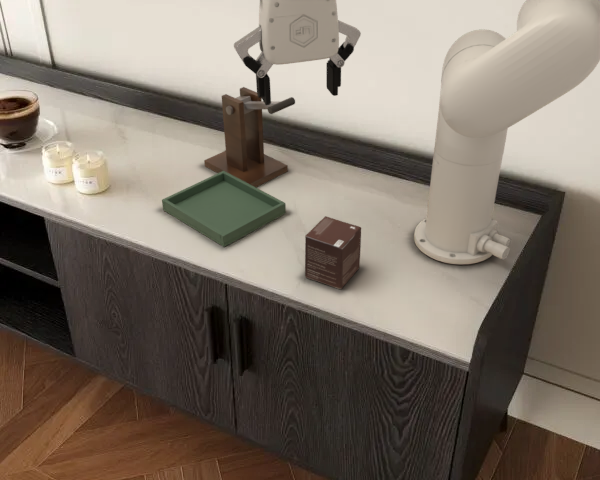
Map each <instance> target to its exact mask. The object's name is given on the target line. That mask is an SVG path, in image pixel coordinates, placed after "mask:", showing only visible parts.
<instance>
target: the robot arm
mask: <svg viewBox="0 0 600 480" xmlns="http://www.w3.org/2000/svg"><path fill="white" fill-rule="evenodd" d="M258 7H259V9H258V11H259V12H258V26H257V27H256V28H255V29H253V30H252V31H250V32H249V33H247V34H245V35H244V36H243V37H241V38H240V39H239V40H237V41H235V42H234V43H233V48H234V50H235V51H236V54H237V55H238V56H239V58H240V60H241V61H242V63H243V64H244V66H245V67H246V68H247V69H249V70H250V71H251V72H252V73H254V74H255V81H256V82H255V83H256V92H257V95H258V97H259V98H262V101H264V103H265V105H270V104H271V101H272V95H271V93H272V92H271V78H270V75H269V74H268V72H269V71H270V69H272V67H273V66H274V65H275V66H277V65H280V66H281V65H289V64H296V63H305V62H312V61H320V60H321V61H322V60H325V59H329V60H327V62H326V89H327V90H328V92H329V93H330V94H331V95H332V96H333V97H334V96H336V97H337V96H339V88H340V87H341V86H342V68H343V67H344V66H345V63H346V61H347V60H348V59H349V58H350V56H351V55H352V54H353V53H354V50H355V47H356V45H357V43H358V41H359V39H360V37H361V35H362V32H361V31H360V30H359V29H358V27H355V26H353V25H350V24H348V23H347V22H344V21H341V20H339V15H338V5H337V0H259V6H258ZM340 34H342V35H345V36H346V37H345V40H344V41H343V43H342V44H341V45H340ZM257 44H258V46H259V50H260V51H261V52H260V54H259V55H258V56H257V57H256V59H255V58H254V57H252V56H251V55H250V54H249V49H250V48H252V47H254V46H255V45H257ZM599 63H600V0H525V1H524V3H522V5H521V7H520V9H519V11H518V14H517V20H516V31H515V32H514V33H512V34H511V35H509V36H508V37H505V36H503V35H502V34H500V33H499V32H497V31H494V30H491V29H484V28H483V29H482V28H481V29H475V30H474V29H473V30H471V31H468V32H466V33H464V34H463V35H461V36H460V37H458V38H457V39H456V40H455V41H454V42H453V44H452V45H451V46H450V48H449V49H448V51H447V52H446V54H445V57H444V59H443V63H442V68H441V80H440V84H441V85H440V92H439V95H440V96H439V103H438V111H437V112H438V113H437V114H438V115H437V122H436V132H435V141H434V148H433V157H432V165H431V174H430V184H429V191H428V200H427V201H428V203H427V209H426V218H424V219H422V220H421V221H420V222H419V223H418V224H417V225H416V227H415V229H414V235H413V241H414V243H415V245H416V247H417V248H418V250H419V251H420V252H422V253H423V254H424V255H425V256H427V257H429V258H431V259H434V260H436V261H438V262H442V263H445V264H451V265H472V264H477V263H481V262H483V261H485V260H488V259H489V258H490V257H492V256H494V257H496V258H498V259H500V260H502V261H504V260H505V259H507V257H508V255H509V254H510V247H509V246H510V245H511V242H512V239H511V238H509V237H507V236H504V235H501V234H499V232H498V231H497V229H498V224H499V223H498V222H499V221H498V220H496V219H493V212H494V207H495V201H496V196H497V189H498V184H499V179H500V173H501V168H502V161H503V156H504V153H505V147H506V140H507V134H508V129H509V128H510V127H513V126H514V125H515V124H518V123H519V122H521V121H522V120H524V119H526V118H527V117H529V116H530V115H533V114H534V113H536V112H537V111H539V110H541V109H542V108H544V107H546V106H547V105H550V104H551V103H552V102H554V101H556V100H557V99H560V98H561V97H562V96H564V95H565V94H567V93H569V92H570V91H572V90H574V89H575V88H576V87H578V86H579V85H581V84H582V82H584V81H585V80H586V79H587V78H588V77H589V76H590V75H591V74H592V72H594V70H595V69H596V67H597V66H598V64H599Z"/></svg>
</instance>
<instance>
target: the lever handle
mask: <svg viewBox="0 0 600 480" xmlns="http://www.w3.org/2000/svg"><path fill="white" fill-rule="evenodd" d="M235 98H236V99H238V100H241V101H243V103H244V114H246V113H248V112H251V111H253V110H254V109H262V110H267V113H268V114H269V115H273V114H275V113H278V112H280V111H282V110H284V109H286V108H289V107H291V106H294V105H295V104H296V99H295V98H294V97H293V96H290V97H289V98H286V99H284V100H281V101H279V100H278V101H275V100H274V101H272V100H271V104H270V105H265V103H264V101H263V100H262V101H251V97H250V96H240V95H239V96H237V97H235Z"/></svg>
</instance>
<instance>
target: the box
mask: <svg viewBox="0 0 600 480" xmlns="http://www.w3.org/2000/svg"><path fill="white" fill-rule="evenodd" d="M304 239H305V243H304V276H305V278H306V279H309V280H311V281H315V282H318V283H321V284H324V285H327V286H329V287H331V288H332V287H333V288H335V289H338V290H342V289H343V287H344V286H345V285H346V284H347V283H348V282H349V281H350V280H351V278H352V277H353V276H354V275H355V274H356V273H357V271H358V270H359V269H360V264H361V247H362V245H361V244H362V227H361V226H359V225H355V224H352V223H350V222H349V223H348V222H346V221H343V220H339V219H337V218H333V217H329V216H324V217H323V218H322V219H321V220H319V222H318V223H317V224H316V225H314V226H313V228H311V230H309V231H308V232H307V234H305V236H304Z"/></svg>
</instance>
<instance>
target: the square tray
mask: <svg viewBox="0 0 600 480" xmlns="http://www.w3.org/2000/svg"><path fill="white" fill-rule="evenodd" d="M161 203H162V211H164V212H166V213H167V214H169V215H171V216H172V217H174V218H175V219H177V220H178V221H180V222H181V223H183V224H186V225H187V226H189V227H190V228H192V229H194V231H197V232H199V233H200V234H202V235H204V236H205V237H206V238H208V239H210V240H212V241H213V242H215V243H217V244H218V245H219V246H221V247H223V248H225V247H227V246H229V245H231V244H233V243H235V242H236V241H238V240H240V239H242V238H243V237H245V236H247V235H249V234H251V233H253V232H254V231H256V230H258V229H260V228H262V227H264V226H265V225H267V224H269V223H271V222H273V221H274V220H277V219H278V218H280V217H282V216H284V215H286V214H287V211H286V202H285V201H282V200H281V199H279V198H277V197H275V196H274V195H271V194H270V193H268V192H266V191H263V190H261V189H260V188H258V187H254V186H252V185H250V184H248V183H246V182H244V181H242V180H240V179H239V178H237V177H235V176H233V175H231V174H229V173H227V172H225V171H222V172H220V173H216V174H214V175H211V176H209V177H207V178H204V179H203V180H201V181H199V182H196V183H194V184H191V185H189V186H187V187H186V188H184V189H182V190H181V189H180V191H177V192H175V193H173V194H171V195H169V196H167V197H164V198H163V199H161Z"/></svg>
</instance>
